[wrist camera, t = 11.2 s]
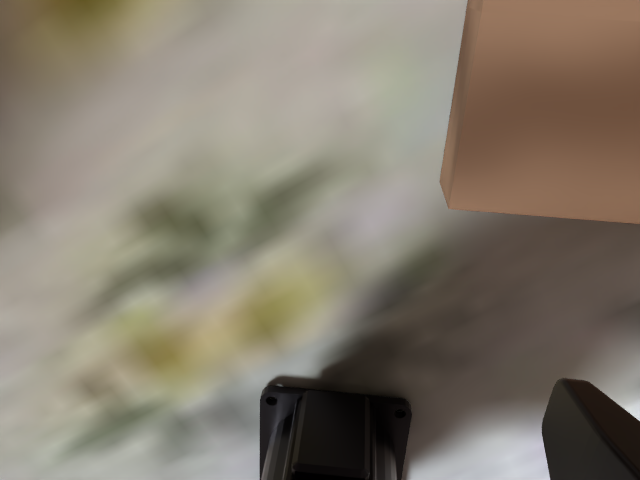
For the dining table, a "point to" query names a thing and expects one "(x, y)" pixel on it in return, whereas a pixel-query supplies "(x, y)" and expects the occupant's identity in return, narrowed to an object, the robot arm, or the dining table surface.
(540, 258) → the dining table surface
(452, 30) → the dining table surface
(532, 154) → the holder block
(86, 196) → the dining table surface
